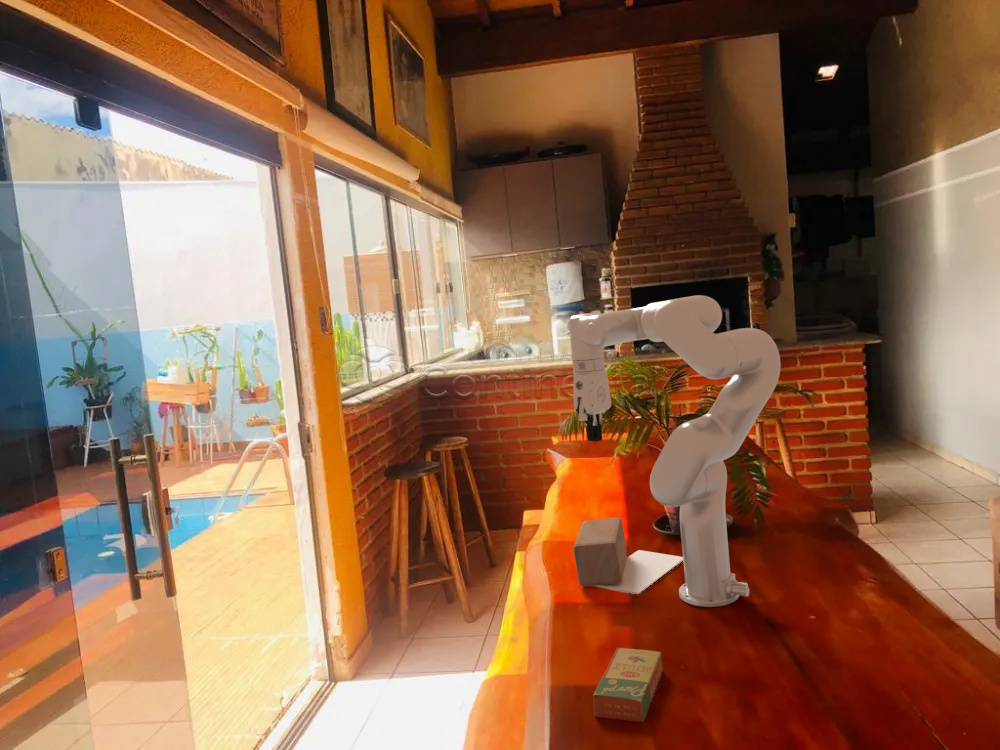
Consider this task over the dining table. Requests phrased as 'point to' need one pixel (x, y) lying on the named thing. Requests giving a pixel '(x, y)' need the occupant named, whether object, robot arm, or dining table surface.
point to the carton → (628, 685)
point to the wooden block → (600, 552)
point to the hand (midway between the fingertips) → (595, 440)
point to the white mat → (643, 571)
